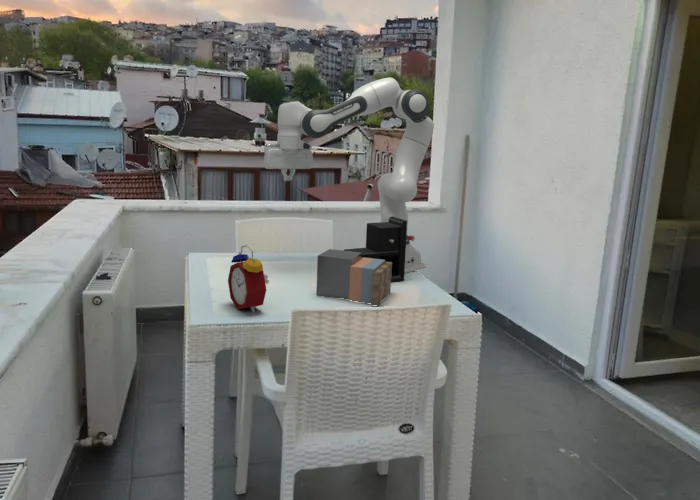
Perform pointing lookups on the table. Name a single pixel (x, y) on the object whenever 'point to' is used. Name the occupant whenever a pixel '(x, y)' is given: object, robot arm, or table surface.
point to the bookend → (387, 244)
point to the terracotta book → (357, 279)
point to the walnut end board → (381, 283)
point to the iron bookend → (335, 272)
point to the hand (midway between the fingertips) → (288, 180)
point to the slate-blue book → (369, 279)
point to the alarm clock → (247, 282)
